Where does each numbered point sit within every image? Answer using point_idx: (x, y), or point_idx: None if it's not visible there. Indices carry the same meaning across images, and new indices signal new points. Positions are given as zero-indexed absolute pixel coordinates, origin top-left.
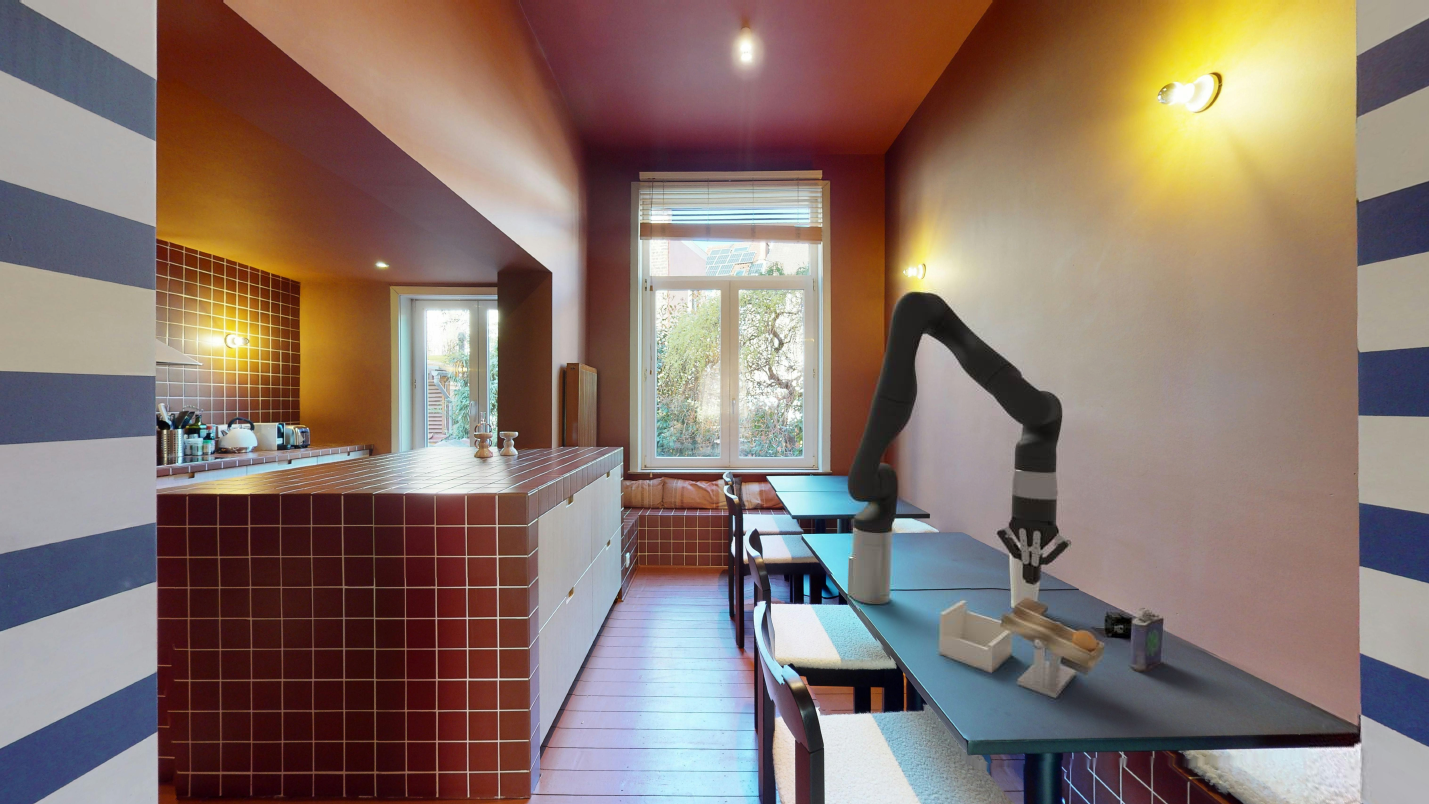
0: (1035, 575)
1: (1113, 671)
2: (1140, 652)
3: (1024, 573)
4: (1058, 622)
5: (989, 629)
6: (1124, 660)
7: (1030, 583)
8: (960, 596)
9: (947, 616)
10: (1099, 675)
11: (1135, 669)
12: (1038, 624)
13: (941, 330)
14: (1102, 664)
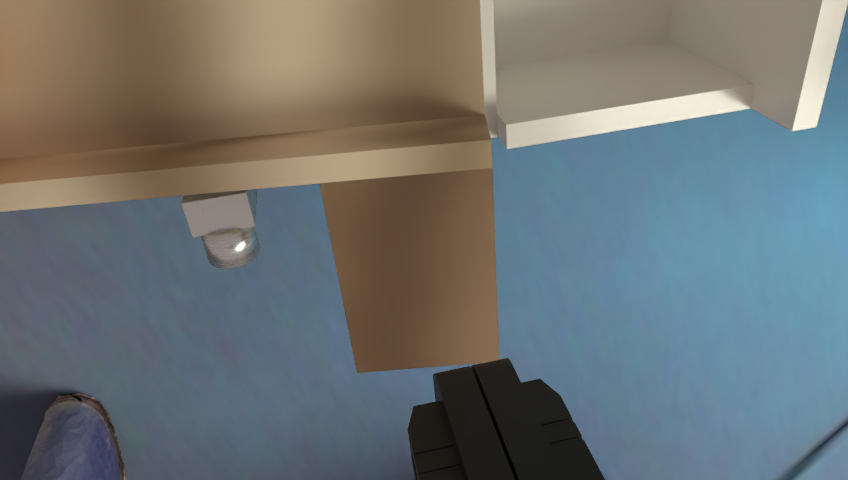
0: (448, 459)
1: (105, 320)
2: (30, 463)
3: (555, 428)
4: (231, 262)
5: (580, 88)
6: (147, 434)
7: (464, 368)
8: (780, 420)
9: None
10: (108, 238)
11: (68, 396)
12: (299, 129)
13: None
14: (167, 341)
